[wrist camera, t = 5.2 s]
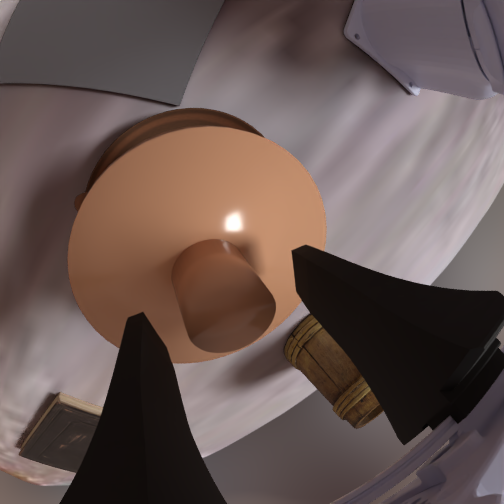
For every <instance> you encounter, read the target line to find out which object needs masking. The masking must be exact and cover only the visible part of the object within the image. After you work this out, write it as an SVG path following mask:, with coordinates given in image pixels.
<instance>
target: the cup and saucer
mask: <svg viewBox="0 0 504 504" xmlns="http://www.w3.org/2000/svg"><path fill="white" fill-rule="evenodd" d="M205 125H209V126H223V127H230V128H234V129H238V130H243V131H247V132H250V133H254V134H256V135H259V136H261V137H263V138H265V137H264V136H263V135H262V134H261V133H260V132H258V131H257V130H256V129H255V128H254V127H252V126H251V125H249V124H248V123H246V122H245V121H243V120H241V119H239V118H237V117H235V116H232V115H230V114H227V113H224V112H220V111H216V110H211V109H204V108H185V109H176V110H171V111H166V112H163V113H160V114H157V115H154V116H152V117H149V118H147V119H145V120H143V121H141V122H139V123H138V124H136V125H134V126H133V127H131V128H130V129H128V130H127V131H126V132H124V133H123V134H122V135H121V136H120V137H118V138H117V139H116V140H115V141H114V142H113V143H112V144H111V145H110V147H109V148H108V149H107V150H106V151H105V152H104V154H103V155H102V157H101V158H100V160H99V161H98V163H97V165H96V166H95V168H94V170H93V172H92V174H91V177H90V179H89V182H88V185H87V188H86V192H85V193H82V194H80V195H78V196H77V197H76V199H75V203H74V204H75V208H76V210H77V211H78V212H79V209H80V207H81V205H82V203H83V200H84V198H85V196H86V195H87V193H88V192H89V190H90V189H91V187H92V186H93V184H94V182H95V181H96V180H97V179H98V177H99V176H100V175H101V174H102V173H103V172H104V171H105V170H106V168H107V167H108V166H109V165H110V164H111V163H113V162H114V161H115V160H116V159H117V158H119V157H120V156H121V155H122V154H124V153H125V152H126V151H128V150H129V149H131V148H132V147H134V146H136V145H138V144H139V143H141V142H143V141H144V140H147V139H149V138H151V137H154V136H156V135H159V134H161V133H164V132H167V131H171V130H175V129H180V128H184V127H192V126H205Z"/></svg>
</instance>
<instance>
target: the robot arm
mask: <svg viewBox="0 0 504 504" xmlns="http://www.w3.org/2000/svg"><path fill="white" fill-rule="evenodd" d="M344 35H345V37H346V38H348V39H349V40H350V41H352V42H353V43H354V44H356V45H357V46H358V47H359V48H361V49H362V50H363V51H364V52H366V53H367V54H368V55H369V56H371V57H372V58H373V59H374V60H375V61H377V62H378V63H379V64H380V65H381V66H382V67H384V68H385V69H386V70H387V71H388V72H389V73H390V74H391V75H392V76H394V77H395V78H396V79H397V80H398V81H399V82H400V83H401V84H402V85H403V86H404V87H405V88H406V89H407V90H408V91H409V92H410V93H411V94H412V95H414V96H418V94H419V92H420V88H422V89H428V90H434V91H439V92H444V93H449V94H453V95H457V96H462V97H466V98H470V99H475V100H483V99H488V98H491V97H493V96H495V95H496V94H498V93H499V94H503V95H504V0H355V1H354V4H353V6H352V9H351V12H350V15H349V17H348V20H347V23H346V25H345V28H344ZM355 36H356V38H355ZM291 252H292V261H293V269H294V278H295V287H296V292H297V294H298V295H299V297H300V298H301V300H302V301H303V303H304V304H305V306H306V307H307V309H308V310H309V312H310V313H311V314H312V315H313V316H314V318H315V319H316V320H317V321H318V322H319V323H320V325H321V326H322V327H323V328H324V329H325V330H326V331H327V332H328V334H329V335H330V336H331V337H332V338H333V339H334V340H335V342H336V343H337V344H338V345H339V346H340V347H341V348H342V349H343V351H344V352H345V353H346V354H347V355H348V357H349V358H350V359H351V361H352V362H353V363H354V365H355V366H356V368H357V369H358V371H359V372H360V374H361V375H362V377H363V378H364V380H365V381H366V383H367V384H368V386H369V387H370V389H371V390H372V392H373V394H374V395H375V397H376V399H377V400H378V402H379V404H380V405H381V407H382V409H383V410H384V412H385V414H386V416H387V418H388V420H389V421H390V423H391V425H392V427H393V429H394V431H395V433H396V435H397V437H398V439H399V440H400V441H401V442H402V444H403V445H405V444H407V443H408V442H409V441H411V440H412V439H413V438H415V437H416V436H417V435H418V434H419V433H420V432H422V431H423V430H424V429H425V428H426V427H428V426H430V427H431V429H432V430H433V431H432V432H431V433H430V434H429V435H428V436H426V437H425V438H424V439H423V440H422V441H421V442H420V443H419V444H417V445H416V446H415V447H414V448H413V449H411V450H410V451H409V452H408V453H407V454H405V455H404V456H403V457H401V458H400V459H399V460H397V461H396V462H395V463H394V464H392V465H391V466H390V467H388V468H387V469H386V470H384V471H383V472H381V473H380V474H378V475H377V476H375V477H374V478H372V479H371V480H369V481H368V482H366V483H365V484H363V485H362V486H360V487H358V488H357V489H355V490H353V491H352V492H350V493H348V494H347V495H345V496H343V497H341V498H339V499H338V500H336V501H334V502H332V503H330V504H369V503H370V502H372V501H373V500H375V499H376V498H378V497H380V496H381V495H383V494H384V493H385V492H387V491H388V490H390V489H391V488H393V487H394V486H395V485H396V484H398V483H399V482H401V481H402V480H403V479H405V478H406V477H407V476H408V475H410V474H411V473H412V472H413V471H414V470H416V469H417V468H418V467H419V466H421V465H422V464H423V463H424V462H425V461H426V460H427V461H426V463H424V465H423V466H422V467H421V468H420V469H419V470H418V471H417V473H416V475H417V476H418V477H417V478H416V479H415V480H413V481H412V482H411V483H409V484H408V485H406V486H405V487H404V488H402V489H401V490H400V491H398V492H396V493H395V494H393V495H392V496H390V497H389V498H387V499H386V500H384V501H382V502H381V503H379V504H504V346H503V348H502V349H501V350H500V349H499V348H498V347H499V346H500V344H501V343H500V341H499V340H498V339H497V338H496V337H497V335H498V334H499V332H500V331H501V329H502V328H503V326H504V296H503V295H502V294H501V293H499V292H498V291H469V290H457V289H448V288H441V287H435V286H429V285H424V284H419V283H414V282H410V281H407V280H403V279H399V278H395V277H392V276H388V275H385V274H382V273H379V272H376V271H373V270H370V269H368V268H365V267H362V266H359V265H357V264H354V263H352V262H349V261H347V260H344V259H342V258H339V257H337V256H334V255H332V254H329V253H327V252H324V251H322V250H320V249H317V248H315V247H312V246H309V245H306V244H305V245H303V246H301V247H298V248H296V249H293V250H291ZM448 440H449V441H450V442H449V444H448V445H446V446H445V447H443V448H442V449H440V450H439V451H438V452H436V451H437V450H438V449H439V448H441V446H442V445H444V444H445V442H447V441H448ZM435 452H436V453H435ZM434 453H435V454H434ZM433 454H434V455H433ZM432 455H433V456H432ZM431 456H432V457H431ZM59 504H227V503H226V501H225V500H224V498H223V496H222V495H221V493H220V491H219V490H218V488H217V486H216V484H215V482H214V481H213V479H212V477H211V475H210V473H209V471H208V469H207V467H206V465H205V463H204V461H203V459H202V457H201V455H200V452H199V450H198V448H197V445H196V443H195V441H194V438H193V436H192V434H191V431H190V428H189V425H188V421H187V418H186V414H185V410H184V406H183V402H182V398H181V394H180V390H179V386H178V382H177V378H176V374H175V370H174V367H173V364H172V361H171V358H170V355H169V352H168V349H167V347H166V345H165V344H164V342H163V341H162V339H161V338H160V336H159V335H158V334H157V332H156V331H155V329H154V328H153V326H152V324H151V323H150V321H149V320H148V318H147V317H146V315H145V314H144V312H140V313H138V314H135V315H133V316H130V317H128V318H127V321H126V324H125V328H124V332H123V336H122V340H121V344H120V349H119V353H118V356H117V360H116V364H115V368H114V372H113V376H112V379H111V383H110V386H109V390H108V393H107V397H106V400H105V403H104V407H103V410H102V413H101V416H100V419H99V421H98V424H97V427H96V430H95V432H94V435H93V437H92V440H91V442H90V444H89V447H88V449H87V452H86V454H85V456H84V459H83V461H82V463H81V465H80V467H79V469H78V471H77V473H76V475H75V477H74V479H73V481H72V483H71V485H70V486H69V488H68V490H67V492H66V493H65V495H64V497H63V498H62V500H61V502H60V503H59Z"/></svg>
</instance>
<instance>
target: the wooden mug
mask: <svg viewBox="0 0 504 504" xmlns="http://www.w3.org/2000/svg"><path fill="white" fill-rule="evenodd" d="M284 353H285V356H286V358H287V360H288V361H289V362H290V363H291V364H292V365H293V366H294V367H295V368H296V369H298V370H300V371H301V372H302V373H303V374H304V375H305V376H306V377H307V378H308V380H309V381H310V382H311V383H312V384H313V385H314V386H315V387H316V388H317V389H318V390H319V391H320V392H321V394H323V396H324V397H325V398H326V399H327V400H328V401H329V402H330V403H331V404H332V405H333V406H334V407H333V411H334V412H335V413H336V414H337V415H338V416H339V417H340V418H341V419H342V420H347V421H348V422H349V423H350V424H351V425H352V426H353V427H354V428H356V429H357V428H361V427H363V426H365V425H366V424H367V423H369V422H370V421H372V420H373V419H375V418H376V417H377V416H378V415H380V414H381V413H382V412H383V411H384V410H383V409H382V407H381V405H380V404H379V402H378V400H377V399H376V397H375V395H374V394H373V392H372V390H371V389H370V387H369V386H368V384H367V383H366V381H365V380H364V378H363V377H362V375H361V374H360V372H359V371H358V369H357V368H356V366H355V365H354V363H353V362H352V361H351V359H350V358H349V357H348V355H347V354H346V353H345V352H344V351H343V349H342V348H341V347H340V346H339V345H338V344H337V343H336V342H335V340H334V339H333V338H332V337H331V336H330V335H329V334H328V332H327V331H326V330H325V329H324V328H323V327H322V326H321V325H320V323H319V322H318V321H317V320H316V319H315V318H314V316H313V315H312V314H311V315H309V316H308V317H307V318H305V319H304V320H303V321H302V322H301V323H300V324H299V325H298V327H297V328H296V329H295V330H294V332H293V333H292V335H291V336H290V337H289V339H288V341H287V343H286V346H285V348H284Z"/></svg>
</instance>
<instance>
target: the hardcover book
mask: <svg viewBox="0 0 504 504" xmlns="http://www.w3.org/2000/svg"><path fill="white" fill-rule="evenodd" d="M102 410H103V408H102V407H99V406H96V405H93V404H90V403H87V402H85V401H82V400H79V399H76V398H74V397H71V396H69V395H66V394H64V393H61V392H60V393H59V394H58V395H57V397H56V398H55V399H54V401H53V402H52V403H51V405H50V406H49V407H48V409H47V410H46V411H45V413H44V414H43V416H42V417H41V418H40V420H39V421H38V423H37V424H36V425H35V427H34V428H33V430H32V431H31V433H30V434H29V435H28V437H27V438H26V440H25V441H24V443H23V444H22V446H21V451H20V453H19V456H22V457H25V458H27V459H30V460H33V461H36V462H39V463H42V464H45V465H49V466H52V467H56V468H59V469H63V470H67V471H71V472H75V473H77V471H78V469H79V467H80V465H81V463H82V461H83V459H84V456H85V454H86V452H87V449H88V447H89V444H90V442H91V440H92V437H93V435H94V432H95V430H96V427H97V424H98V421H99V419H100V416H101V413H102Z"/></svg>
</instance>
